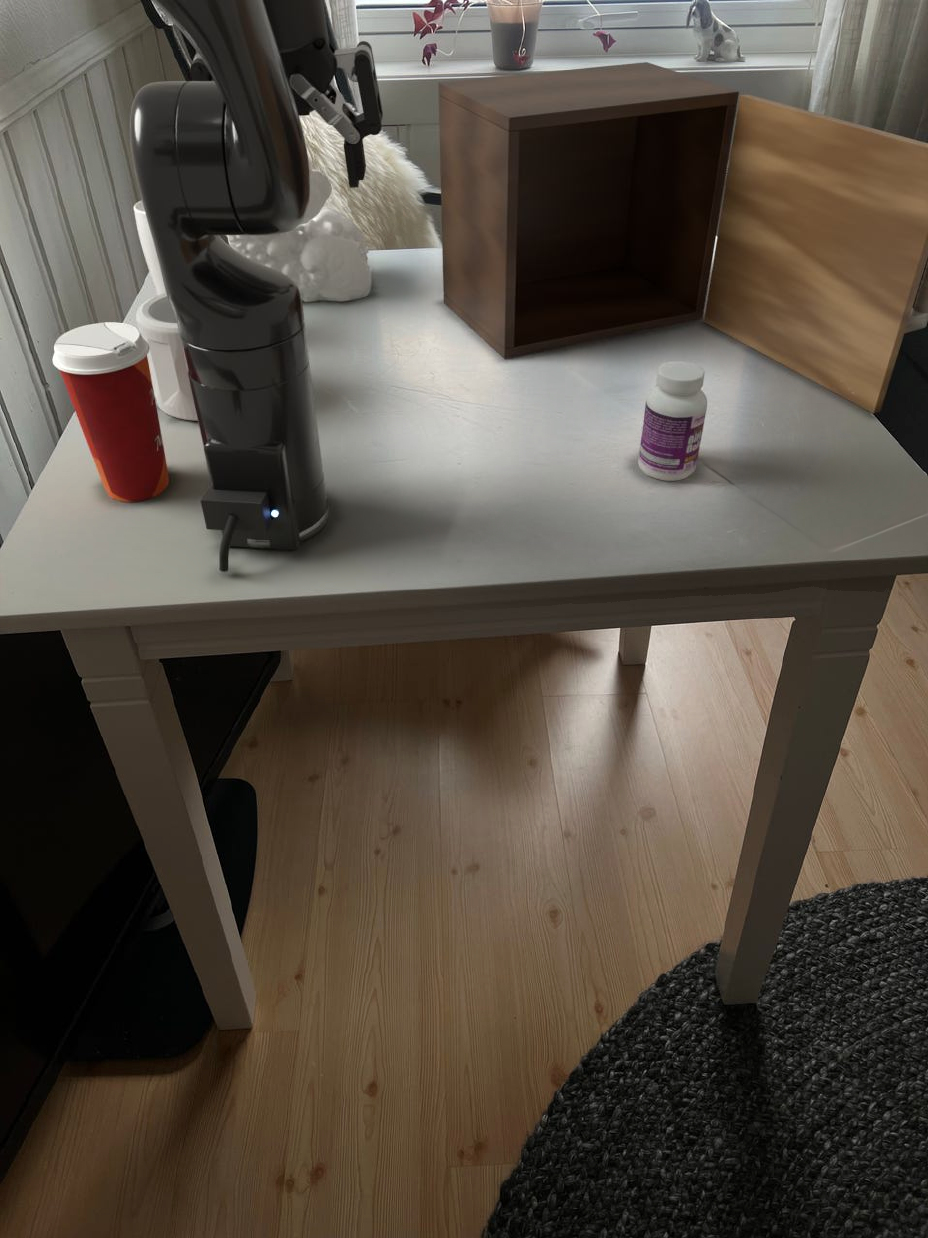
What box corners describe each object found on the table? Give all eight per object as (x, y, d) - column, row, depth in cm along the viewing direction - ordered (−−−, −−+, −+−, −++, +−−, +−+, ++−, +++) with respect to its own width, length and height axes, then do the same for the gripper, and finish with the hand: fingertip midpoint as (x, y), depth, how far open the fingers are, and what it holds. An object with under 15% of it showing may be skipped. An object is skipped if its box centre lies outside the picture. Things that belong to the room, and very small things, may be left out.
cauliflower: (419, 226, 112) (264, 141, 101) (346, 374, 120) (196, 309, 109) (381, 191, 126) (243, 113, 116) (319, 325, 134) (184, 264, 124)
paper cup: (198, 477, 86) (165, 331, 77) (135, 517, 81) (92, 366, 72) (139, 455, 89) (101, 312, 80) (74, 492, 84) (26, 344, 75)
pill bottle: (695, 485, 84) (712, 386, 78) (635, 479, 85) (648, 381, 79) (696, 455, 88) (713, 359, 82) (639, 450, 89) (651, 354, 83)
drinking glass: (192, 354, 106) (164, 217, 97) (150, 341, 109) (118, 206, 99) (233, 333, 111) (210, 199, 101) (191, 321, 114) (165, 190, 104)
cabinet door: (747, 310, 114) (789, 87, 98) (921, 398, 96) (1006, 142, 81) (703, 321, 112) (739, 94, 96) (873, 413, 94) (952, 153, 78)
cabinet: (702, 319, 112) (739, 91, 97) (504, 359, 105) (509, 117, 89) (625, 270, 125) (646, 61, 109) (443, 302, 117) (438, 82, 102)
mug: (282, 396, 98) (269, 303, 92) (196, 434, 92) (175, 337, 86) (207, 359, 105) (189, 270, 99) (122, 392, 99) (98, 299, 93)
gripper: (154, -13, 64) (214, 212, 77) (360, -24, 64) (386, 204, 77) (174, -52, 69) (228, 166, 82) (367, -62, 68) (390, 159, 81)
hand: (305, 185), depth 79 cm, fingers open, 8 cm apart
